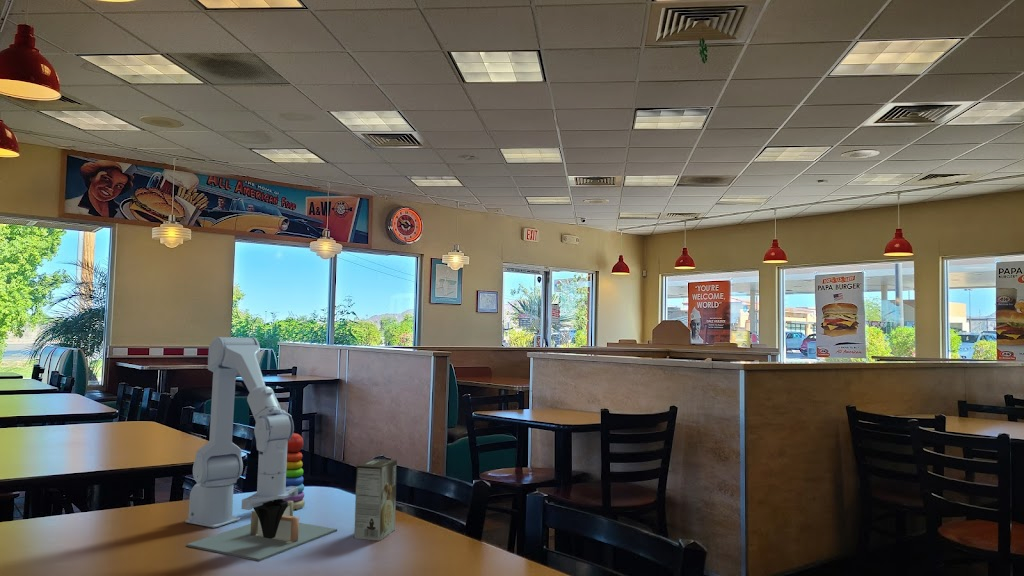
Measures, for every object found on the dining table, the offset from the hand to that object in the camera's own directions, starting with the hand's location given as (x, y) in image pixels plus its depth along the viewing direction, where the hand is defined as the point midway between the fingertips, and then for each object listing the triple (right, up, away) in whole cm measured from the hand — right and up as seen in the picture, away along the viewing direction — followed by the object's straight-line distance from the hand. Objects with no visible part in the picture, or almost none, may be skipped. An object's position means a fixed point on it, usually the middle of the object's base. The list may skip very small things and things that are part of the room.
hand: (269, 537), depth 149 cm
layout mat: (-3, -2, +6) cm, 7 cm away
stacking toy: (-6, -4, +32) cm, 33 cm away
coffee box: (+20, -3, +11) cm, 23 cm away
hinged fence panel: (0, -2, +5) cm, 5 cm away
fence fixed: (-3, -3, +12) cm, 13 cm away
